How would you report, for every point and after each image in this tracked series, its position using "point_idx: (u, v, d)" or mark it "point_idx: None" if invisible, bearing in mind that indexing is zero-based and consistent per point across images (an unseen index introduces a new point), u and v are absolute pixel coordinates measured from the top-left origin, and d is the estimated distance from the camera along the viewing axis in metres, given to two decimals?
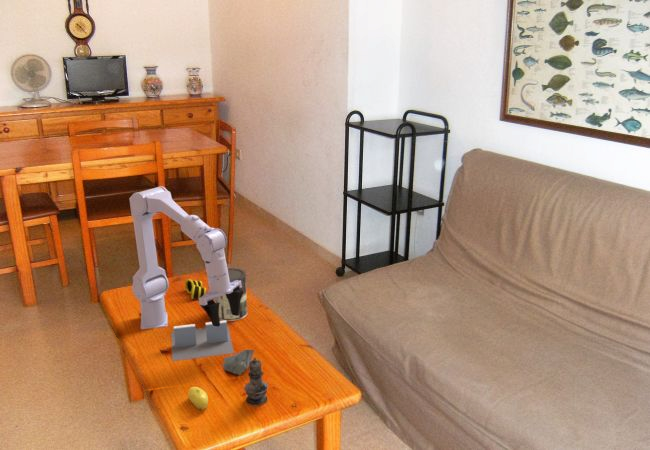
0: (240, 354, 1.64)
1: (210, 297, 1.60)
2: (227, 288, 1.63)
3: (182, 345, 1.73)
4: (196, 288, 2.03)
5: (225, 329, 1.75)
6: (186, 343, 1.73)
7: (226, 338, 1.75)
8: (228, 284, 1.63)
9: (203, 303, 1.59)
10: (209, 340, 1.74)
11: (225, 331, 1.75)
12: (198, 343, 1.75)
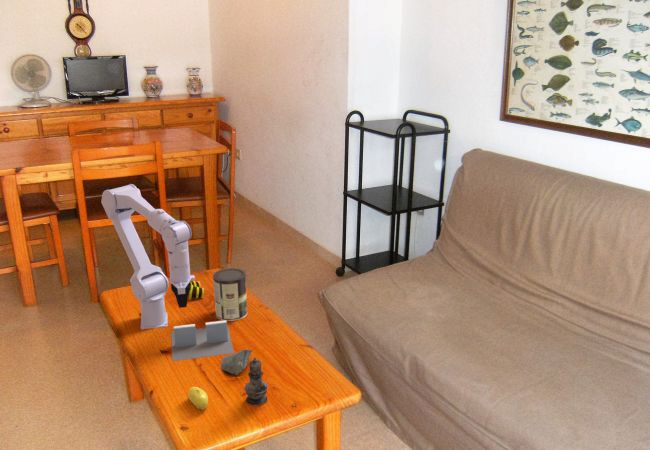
0: (238, 354, 1.64)
1: (186, 285, 1.69)
2: (190, 275, 1.74)
3: (182, 345, 1.73)
4: (194, 288, 2.02)
5: (225, 329, 1.75)
6: (186, 343, 1.73)
7: (226, 338, 1.75)
8: None
9: (183, 292, 1.67)
10: (209, 340, 1.74)
11: (225, 331, 1.75)
12: (198, 343, 1.75)
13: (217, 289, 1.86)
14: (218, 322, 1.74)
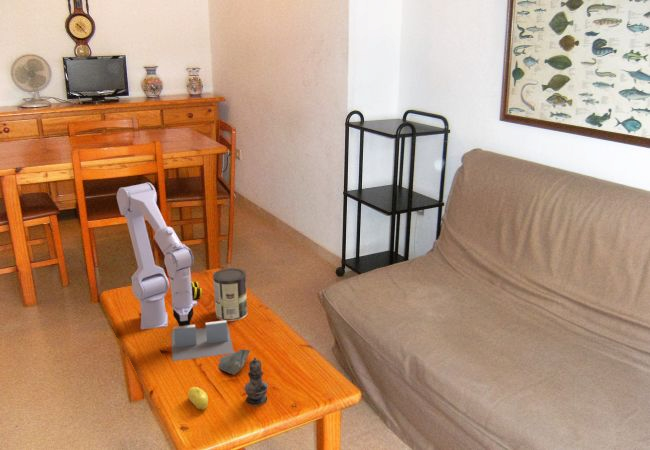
0: (236, 354, 1.64)
1: (188, 311, 1.67)
2: (192, 300, 1.72)
3: (182, 345, 1.73)
4: (192, 289, 2.02)
5: (225, 329, 1.75)
6: (186, 343, 1.73)
7: (226, 338, 1.75)
8: None
9: (186, 318, 1.65)
10: (209, 340, 1.74)
11: (225, 331, 1.75)
12: (198, 343, 1.75)
13: (217, 289, 1.86)
14: (218, 322, 1.74)
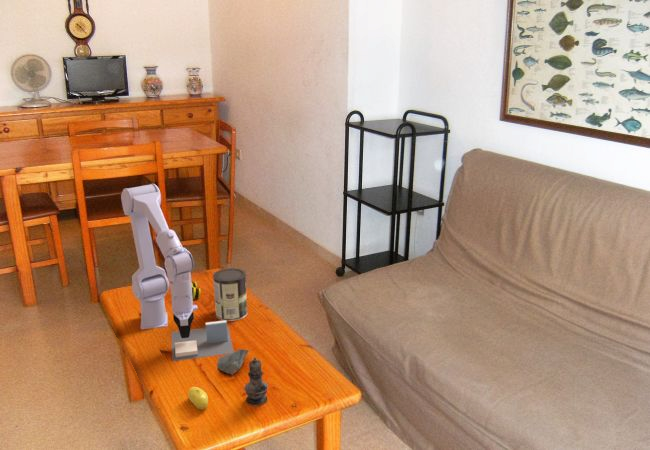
0: (234, 354, 1.64)
1: (188, 316, 1.65)
2: (192, 305, 1.69)
3: None
4: None
5: (225, 329, 1.75)
6: None
7: (226, 338, 1.75)
8: None
9: (186, 323, 1.63)
10: (209, 340, 1.74)
11: (225, 331, 1.75)
12: (198, 343, 1.75)
13: (217, 289, 1.86)
14: (218, 322, 1.74)
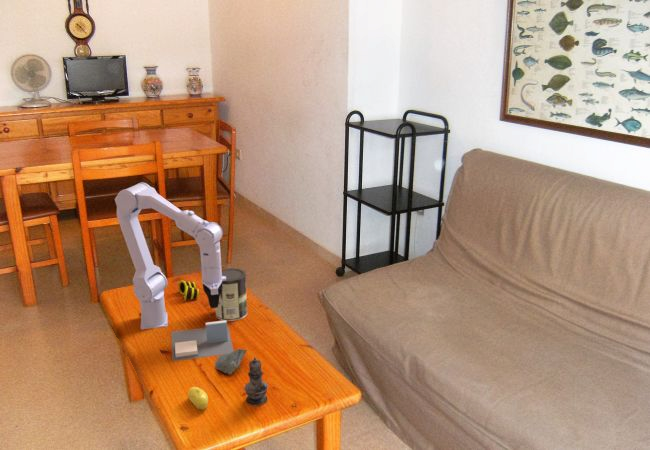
0: (232, 353, 1.64)
1: (218, 286, 1.72)
2: (221, 276, 1.76)
3: None
4: (189, 289, 2.02)
5: (225, 329, 1.75)
6: None
7: (226, 338, 1.75)
8: None
9: (216, 292, 1.70)
10: (209, 340, 1.74)
11: (225, 331, 1.75)
12: (198, 343, 1.75)
13: None
14: (218, 322, 1.74)
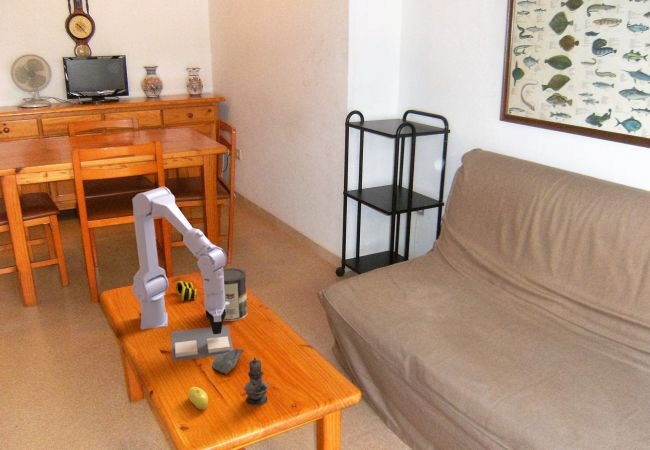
0: (229, 353, 1.64)
1: (221, 312, 1.67)
2: None
3: None
4: (186, 290, 2.01)
5: None
6: None
7: None
8: None
9: (219, 319, 1.65)
10: None
11: None
12: (198, 343, 1.75)
13: None
14: (221, 350, 1.70)
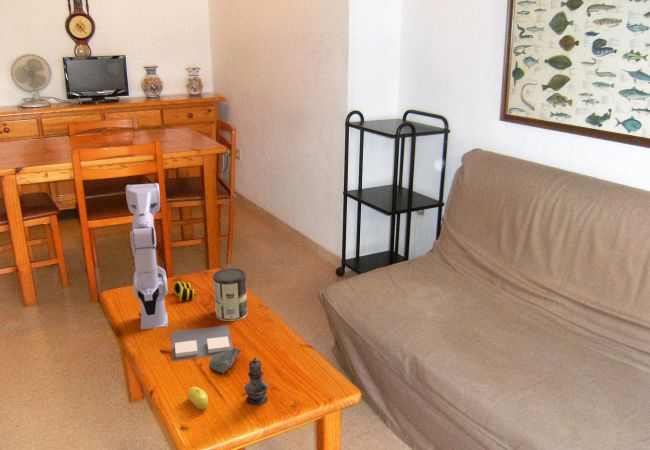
0: (226, 352, 1.64)
1: (153, 291, 1.64)
2: (158, 281, 1.69)
3: None
4: (184, 290, 2.01)
5: None
6: None
7: None
8: None
9: (150, 298, 1.62)
10: None
11: None
12: (198, 343, 1.75)
13: (217, 289, 1.86)
14: (221, 350, 1.70)
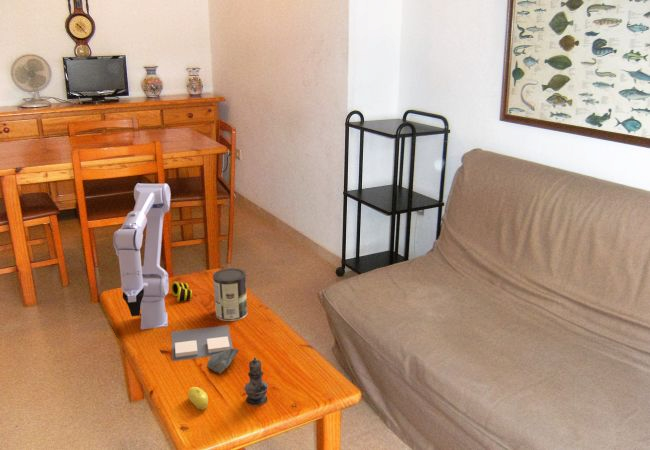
0: (224, 353, 1.64)
1: (137, 293, 1.63)
2: (143, 282, 1.68)
3: None
4: (182, 290, 2.01)
5: None
6: None
7: None
8: None
9: (134, 300, 1.61)
10: None
11: None
12: (198, 343, 1.75)
13: (217, 289, 1.86)
14: (221, 350, 1.70)
